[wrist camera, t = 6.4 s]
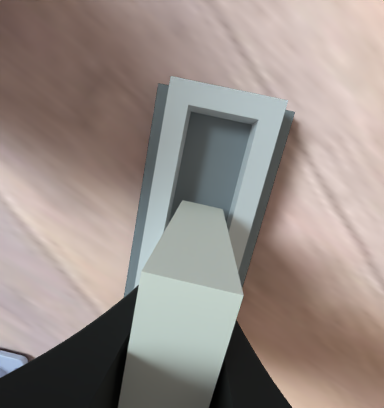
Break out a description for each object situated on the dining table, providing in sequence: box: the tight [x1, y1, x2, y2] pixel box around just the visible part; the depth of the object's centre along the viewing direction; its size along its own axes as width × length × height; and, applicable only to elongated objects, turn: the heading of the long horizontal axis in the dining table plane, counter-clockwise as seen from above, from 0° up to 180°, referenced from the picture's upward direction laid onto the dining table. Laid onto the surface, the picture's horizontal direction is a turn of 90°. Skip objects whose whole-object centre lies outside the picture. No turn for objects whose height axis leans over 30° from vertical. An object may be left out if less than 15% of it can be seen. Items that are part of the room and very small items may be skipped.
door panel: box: [118, 200, 244, 408], centre depth 8 cm, size 8×2×6 cm, turn 168°
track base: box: [124, 76, 295, 297], centre depth 12 cm, size 18×7×2 cm, turn 168°
